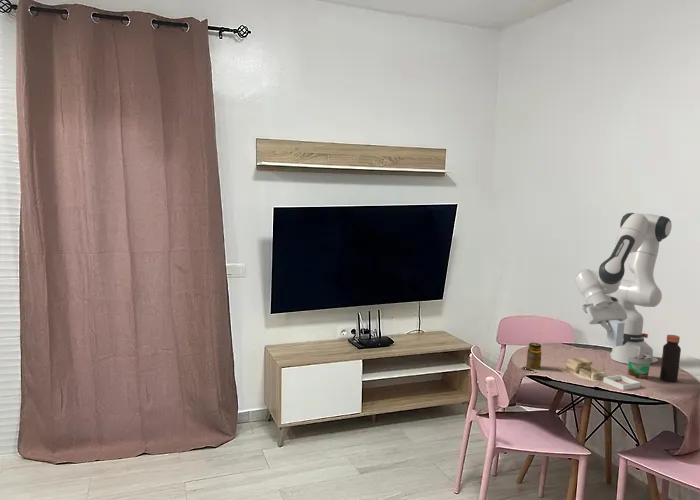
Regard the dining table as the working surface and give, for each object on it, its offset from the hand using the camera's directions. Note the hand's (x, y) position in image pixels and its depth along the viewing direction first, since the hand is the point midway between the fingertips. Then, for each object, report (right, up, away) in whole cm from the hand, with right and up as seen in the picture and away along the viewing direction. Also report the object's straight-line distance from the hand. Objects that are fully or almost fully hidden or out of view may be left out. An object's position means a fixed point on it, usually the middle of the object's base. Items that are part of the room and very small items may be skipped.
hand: (614, 330), depth 245 cm
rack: (-8, -22, +12) cm, 26 cm away
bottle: (+28, -23, +10) cm, 38 cm away
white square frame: (+2, -24, -1) cm, 24 cm away
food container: (+16, -23, +10) cm, 30 cm away
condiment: (-30, -20, +17) cm, 40 cm away
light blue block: (0, -6, 0) cm, 6 cm away
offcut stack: (-9, -20, +16) cm, 27 cm away
